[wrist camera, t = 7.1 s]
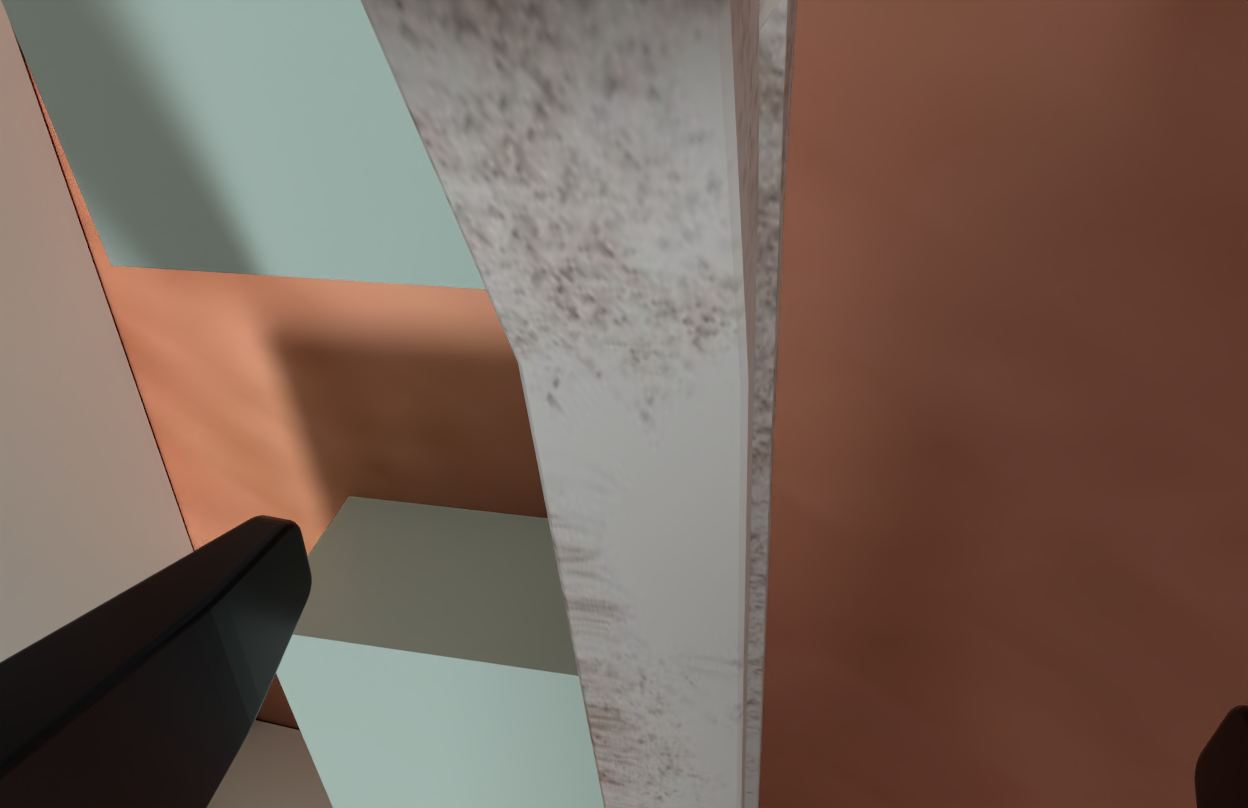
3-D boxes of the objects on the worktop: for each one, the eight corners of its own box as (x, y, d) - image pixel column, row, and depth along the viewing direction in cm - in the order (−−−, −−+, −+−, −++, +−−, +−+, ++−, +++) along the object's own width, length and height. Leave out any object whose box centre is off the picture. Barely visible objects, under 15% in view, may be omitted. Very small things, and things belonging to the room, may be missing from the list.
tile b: (661, 519, 14) (615, 681, 12) (671, 725, 17) (637, 888, 15) (355, 486, 15) (257, 628, 13) (414, 686, 18) (343, 832, 16)
